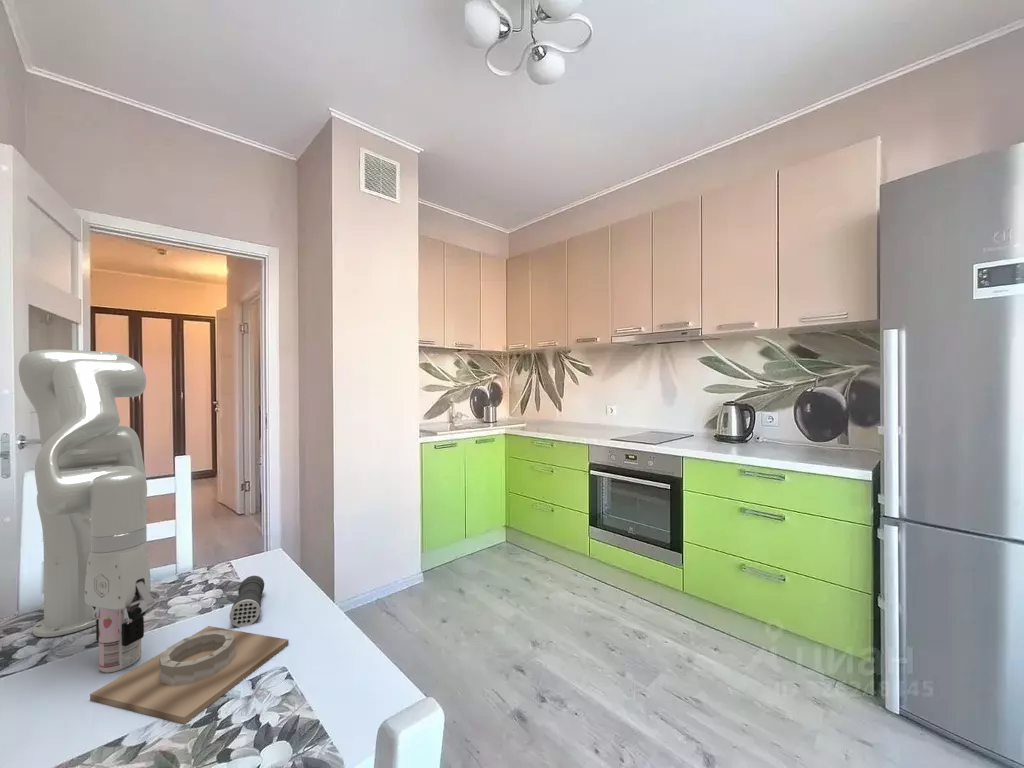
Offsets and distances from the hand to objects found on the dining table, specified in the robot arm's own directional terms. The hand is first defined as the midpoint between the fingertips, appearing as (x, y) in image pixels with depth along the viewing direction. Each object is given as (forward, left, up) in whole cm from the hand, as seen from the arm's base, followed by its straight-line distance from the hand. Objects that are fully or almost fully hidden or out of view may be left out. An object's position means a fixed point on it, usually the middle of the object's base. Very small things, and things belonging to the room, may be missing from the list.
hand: (120, 638), depth 77 cm
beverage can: (0, 0, -5) cm, 5 cm away
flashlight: (+7, +21, -5) cm, 23 cm away
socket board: (+16, +2, -5) cm, 17 cm away
